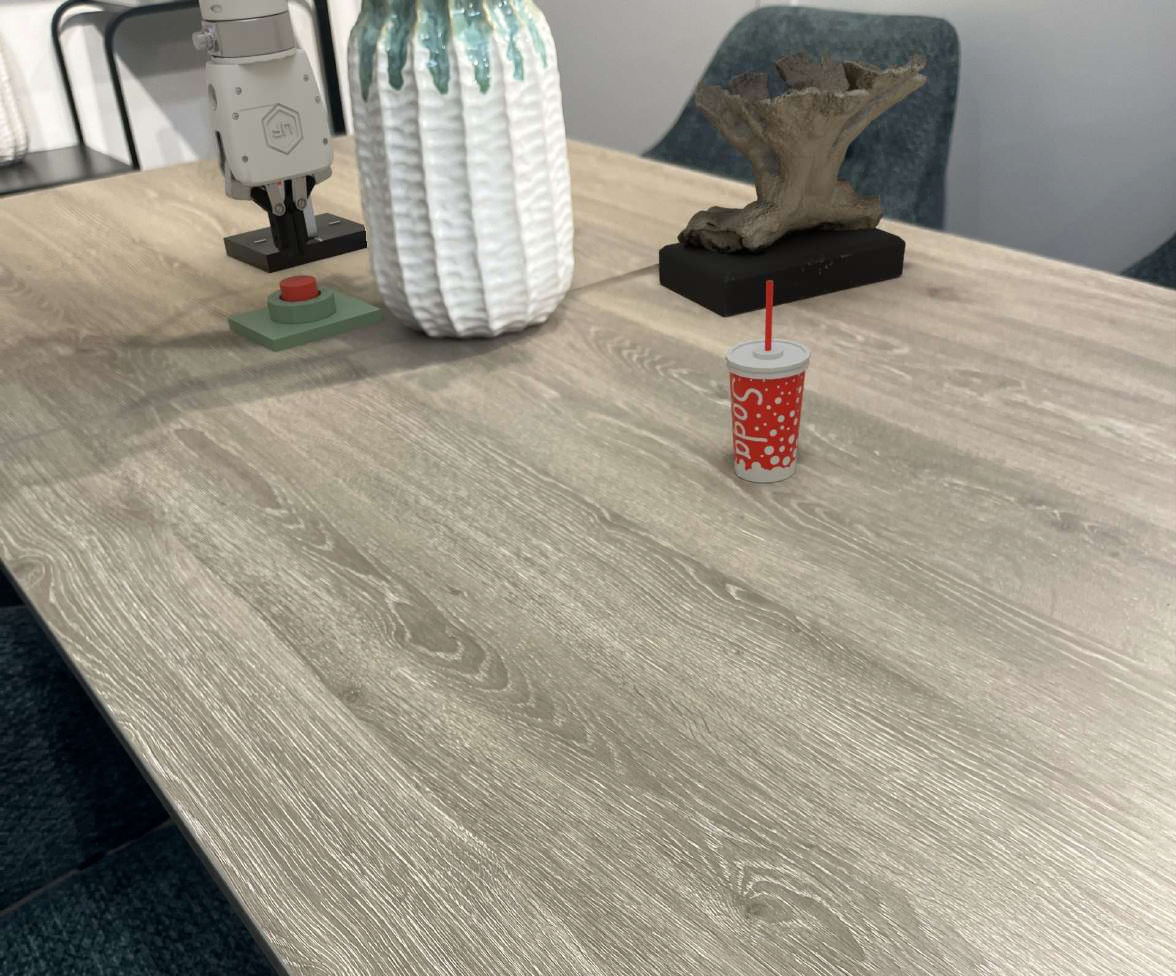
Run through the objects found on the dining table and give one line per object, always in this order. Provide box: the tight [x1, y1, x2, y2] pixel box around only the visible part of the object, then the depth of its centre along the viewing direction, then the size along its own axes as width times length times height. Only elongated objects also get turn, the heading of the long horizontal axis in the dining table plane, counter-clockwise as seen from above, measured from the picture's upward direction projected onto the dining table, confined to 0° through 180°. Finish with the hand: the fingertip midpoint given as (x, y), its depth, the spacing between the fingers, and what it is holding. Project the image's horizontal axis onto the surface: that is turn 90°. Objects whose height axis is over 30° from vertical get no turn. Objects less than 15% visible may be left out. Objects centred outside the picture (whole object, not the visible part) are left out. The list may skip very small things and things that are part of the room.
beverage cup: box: [724, 280, 812, 484], centre depth 93 cm, size 6×6×14 cm
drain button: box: [278, 274, 319, 302], centre depth 126 cm, size 4×4×2 cm
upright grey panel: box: [277, 181, 318, 238], centre depth 148 cm, size 7×2×5 cm, turn 38°
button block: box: [227, 284, 383, 353], centre depth 128 cm, size 12×10×4 cm
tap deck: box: [222, 212, 368, 274], centre depth 150 cm, size 14×11×3 cm
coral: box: [658, 49, 928, 317], centre depth 126 cm, size 25×20×21 cm
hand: (293, 253), depth 124 cm, fingers closed
